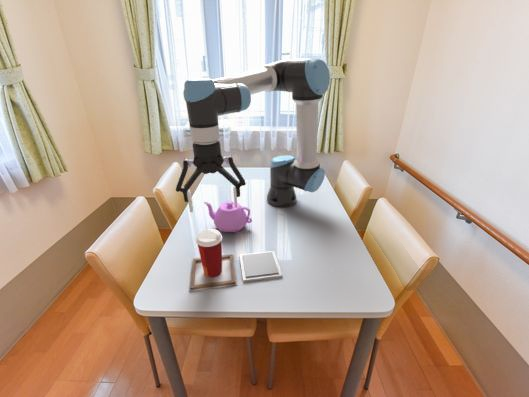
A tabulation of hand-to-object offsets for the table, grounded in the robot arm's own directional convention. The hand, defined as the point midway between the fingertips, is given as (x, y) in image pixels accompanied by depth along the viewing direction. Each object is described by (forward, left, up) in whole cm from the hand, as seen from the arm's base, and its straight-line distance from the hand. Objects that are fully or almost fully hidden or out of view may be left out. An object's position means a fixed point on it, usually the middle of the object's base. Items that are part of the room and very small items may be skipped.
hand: (214, 208), depth 82 cm
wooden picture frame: (+2, +3, -23) cm, 23 cm away
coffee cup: (+2, +3, -23) cm, 23 cm away
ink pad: (-14, +3, -23) cm, 27 cm away
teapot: (-5, -24, -23) cm, 34 cm away
